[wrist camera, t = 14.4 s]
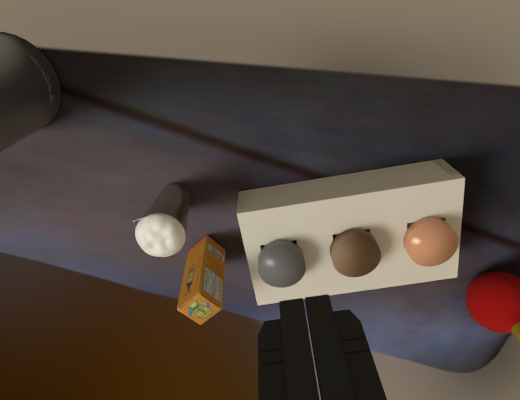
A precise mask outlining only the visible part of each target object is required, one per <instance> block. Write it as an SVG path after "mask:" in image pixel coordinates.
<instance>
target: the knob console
mask: <svg viewBox="0 0 520 400" xmlns="http://www.w3.org/2000/svg"><path fill="white" fill-rule="evenodd" d="M464 186H465V177H464V176H462V175H461V174H460V173H459V172H458V171H456V170H455V169H454V168H453V167H451V166H450V165H449V164H448V163H447V162H445V161H444V160H443V159H437V160H431V161H425V162H419V163H412V164H406V165H400V166H394V167H388V168H382V169H375V170H369V171H363V172H357V173H351V174H344V175H338V176H332V177H326V178H320V179H313V180H307V181H301V182H295V183H289V184H282V185H276V186H270V187H264V188H258V189H251V190H245V191H239V193H238V204H237V217H238V222H239V226H240V230H241V235H242V239H243V243H244V248H245V252H246V256H247V261H248V265H249V269H250V274H251V278H252V283H253V287H254V291H255V296H256V300H257V304H258V305H264V304H271V303H278V302H279V301H284V300H291V299H298V298H303V299H305V297H312V296H319V295H326V294H328V295H335V294H342V293H350V292H357V291H364V290H371V289H378V288H385V287H392V286H399V285H406V284H413V283H421V282H428V281H435V280H442V279H449V278H456V277H457V272H458V260H459V248H460V235H461V223H462V211H463V199H464ZM429 217H435V218H440V219H442V220H444V221H445V222H447V223H448V225H449V226H450V227H451V228H452V229H453V230H454V231H455V233H456V234H457V236H458V239H459V244H458V248H457V250H456V252H455V254H454V255H453V256H452V257H451V258H450V259H449V260H447V261H446V262H444V263H442V264H440V265H437V266H431V267H426V266H421V265H418V264H416V263H415V262H414V261H413V260H412V259H411V257H410V256H409V254H408V253H407V251H406V249H405V247H404V244H403V238H404V235H405V233H406V231H407V223H413V222H417V221H419V220H421V219H424V218H429ZM350 229H362V230H366V229H368V232H369V233H370V234H371V235H372V236H373V237H374V238H375V240H376V242H377V244H378V246H379V248H380V251H381V260H380V262H379V264H378V266H377V267H376V268H375V269H374V270H373V271H372V272H370V273H368V274H367V275H364V276H361V277H347V276H344V275H342V274H340V273H339V272H338V271H337V270H336V269H335V267H334V265H333V262H332V259H331V256H330V246H331V243H332V241H333V234H340V233H342V232H344V231H346V230H350ZM277 240H287V241H294V240H296V241H297V245H298V246H299V247H300V248H301V250H302V252H303V255H304V260H305V265H306V271H305V274H304V276H303V278H302V279H301V280H300V281H299V282H297V283H296V284H294V285H292V286H289V287H284V288H278V287H273V286H270V285H268V284H267V283H265V282H264V281H263V280H262V279H261V277H260V276H259V273H258V255H259V253H260V251H261V245H267V244H268V243H270V242H273V241H277Z"/></svg>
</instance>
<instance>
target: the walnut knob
mask: <svg viewBox="0 0 520 400" xmlns="http://www.w3.org/2000/svg"><path fill="white" fill-rule="evenodd" d="M330 256H331V259H332V262H333V265H334V267H335V269H336V270H337V271H338V272H339V273H340V274H342V275H344V276H347V277H361V276H364V275H367V274H368V273H370V272H372V271H373V270H374V269H375V268H376V267H377V266H378V264H379V262H380V260H381V251H380V248H379V246H378V244H377V242H376V240H375V238H374V237H373V236H372V235H371V234H370V233H369V232H367V231H365V230H362V229H350V230H346V231H344V232H342V233H340V234H333V241H332V243H331V246H330Z"/></svg>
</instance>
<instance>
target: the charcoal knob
mask: <svg viewBox="0 0 520 400" xmlns="http://www.w3.org/2000/svg"><path fill="white" fill-rule="evenodd" d="M305 271H306V265H305V260H304V255H303V252H302V250H301V248H300V247H299V246H298V245H296V244H295V243H293V241H287V240H277V241H273V242H270V243H268V244H267V245H264V247H263V248H262V249H261V251H260V253H259V255H258V273H259V276H260V277H261V279H262V280H263V281H264V282H265V283H267V284H268V285H270V286H273V287H278V288H284V287H289V286H292V285H294V284H296V283H297V282H299V281H300V280H301V279H302V278H303V276H304V274H305Z"/></svg>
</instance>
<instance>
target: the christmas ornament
mask: <svg viewBox="0 0 520 400" xmlns="http://www.w3.org/2000/svg"><path fill="white" fill-rule="evenodd" d="M466 305H467V308H468V311H469V313H470V314H471V316H472V317H473V318H474V320H475V321H476V322H477V323H479V324H480V325H481V326H483V327H484V328H486V329H488V330H491V331H494V332H497V333H513V334H514V335H515V336H516V338H517V340H518V341H520V278H518V277H516V276H514V275H512V274H509V273H506V272H499V271H493V272H487V273H484V274H481V275H479V276H478V277H476V278H475V279H474V280H473V281H472V282H471V283H470V285H469V286H468V288H467V291H466Z"/></svg>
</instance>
